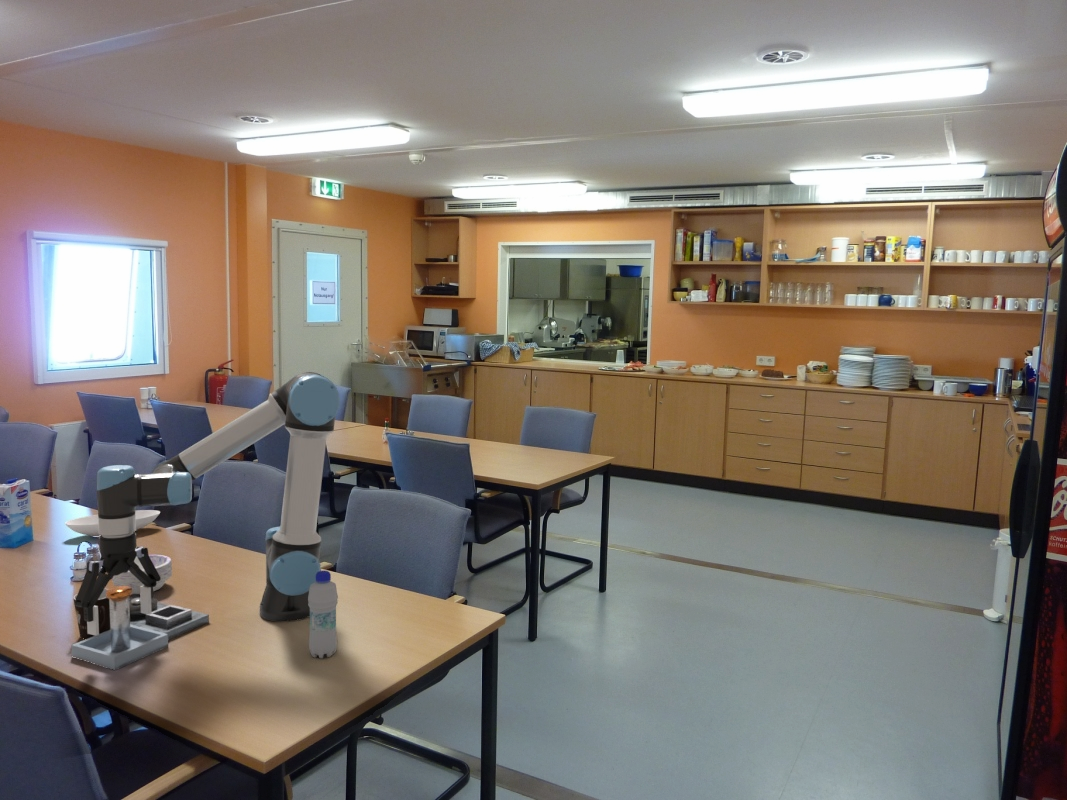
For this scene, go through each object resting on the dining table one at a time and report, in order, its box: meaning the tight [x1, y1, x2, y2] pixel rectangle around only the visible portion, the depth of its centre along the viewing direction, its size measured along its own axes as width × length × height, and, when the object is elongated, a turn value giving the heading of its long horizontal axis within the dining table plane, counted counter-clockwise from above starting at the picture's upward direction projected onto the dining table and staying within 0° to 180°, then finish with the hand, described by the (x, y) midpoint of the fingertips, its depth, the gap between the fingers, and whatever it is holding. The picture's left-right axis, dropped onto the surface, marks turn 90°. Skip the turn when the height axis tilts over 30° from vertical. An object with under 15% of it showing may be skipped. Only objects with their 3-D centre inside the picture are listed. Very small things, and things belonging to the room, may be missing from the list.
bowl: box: [64, 509, 161, 537], centre depth 270 cm, size 30×15×6 cm, turn 129°
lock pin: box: [106, 586, 133, 653], centre depth 175 cm, size 5×5×14 cm
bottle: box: [308, 570, 339, 659], centre depth 177 cm, size 7×7×20 cm
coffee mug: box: [72, 588, 110, 640], centre depth 183 cm, size 12×9×10 cm
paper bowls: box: [111, 554, 173, 595], centre depth 216 cm, size 15×15×8 cm
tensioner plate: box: [129, 596, 210, 641], centre depth 192 cm, size 22×14×5 cm, turn 66°
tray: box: [70, 624, 169, 671], centre depth 176 cm, size 14×14×3 cm
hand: (120, 623), depth 176 cm, fingers open, 13 cm apart
